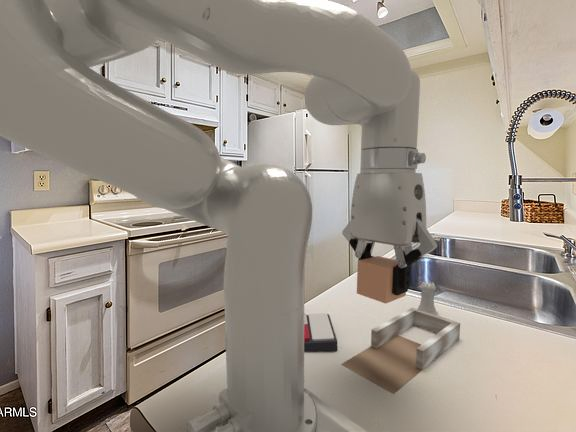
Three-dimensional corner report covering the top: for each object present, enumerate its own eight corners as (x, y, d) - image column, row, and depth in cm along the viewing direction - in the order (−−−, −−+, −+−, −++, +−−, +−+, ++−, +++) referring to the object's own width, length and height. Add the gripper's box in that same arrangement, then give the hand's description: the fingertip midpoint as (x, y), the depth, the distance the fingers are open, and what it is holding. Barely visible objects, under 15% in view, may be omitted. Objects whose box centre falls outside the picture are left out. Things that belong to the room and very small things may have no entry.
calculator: (254, 313, 63) (328, 309, 63) (255, 334, 63) (329, 330, 63) (247, 341, 52) (337, 336, 52) (249, 366, 53) (338, 361, 52)
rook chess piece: (441, 323, 66) (443, 286, 65) (420, 323, 66) (421, 286, 65) (432, 314, 70) (434, 279, 69) (412, 314, 70) (413, 279, 69)
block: (385, 303, 43) (387, 267, 42) (356, 293, 47) (357, 260, 46) (405, 295, 46) (407, 262, 45) (376, 286, 50) (378, 255, 49)
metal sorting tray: (393, 404, 42) (394, 372, 42) (340, 373, 49) (341, 345, 48) (458, 346, 56) (460, 322, 56) (411, 329, 63) (412, 307, 63)
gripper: (462, 162, 41) (453, 298, 42) (354, 166, 53) (351, 270, 55) (436, 159, 36) (427, 312, 38) (325, 164, 48) (322, 279, 50)
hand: (382, 286), depth 46 cm, fingers closed on block, 5 cm apart
